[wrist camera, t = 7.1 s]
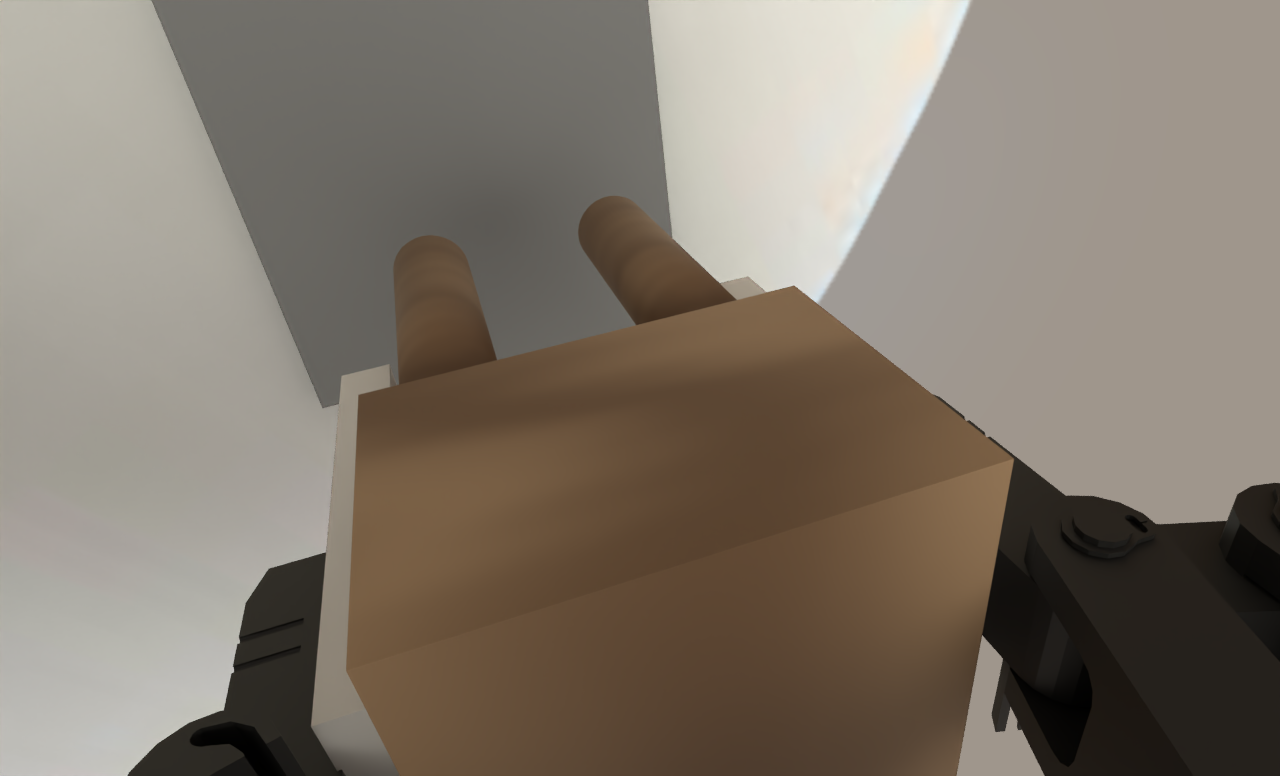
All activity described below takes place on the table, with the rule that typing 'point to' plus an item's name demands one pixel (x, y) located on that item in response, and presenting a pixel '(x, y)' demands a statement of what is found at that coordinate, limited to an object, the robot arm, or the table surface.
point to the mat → (426, 154)
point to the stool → (663, 536)
